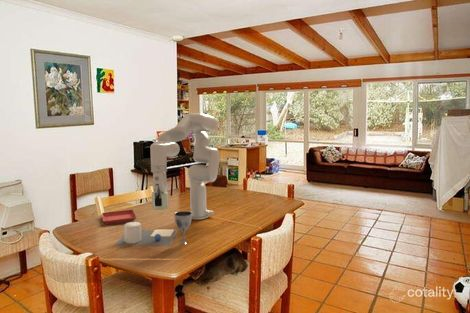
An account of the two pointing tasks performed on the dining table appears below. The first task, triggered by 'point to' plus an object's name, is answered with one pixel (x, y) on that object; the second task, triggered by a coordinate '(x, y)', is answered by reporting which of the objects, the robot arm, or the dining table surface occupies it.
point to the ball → (157, 237)
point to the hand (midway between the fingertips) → (160, 203)
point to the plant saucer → (118, 217)
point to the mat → (152, 237)
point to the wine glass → (183, 222)
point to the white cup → (132, 232)
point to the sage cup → (164, 201)
